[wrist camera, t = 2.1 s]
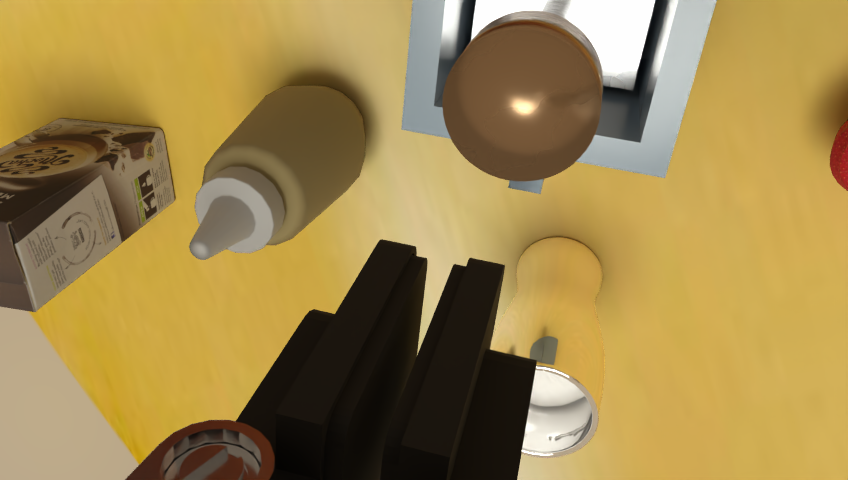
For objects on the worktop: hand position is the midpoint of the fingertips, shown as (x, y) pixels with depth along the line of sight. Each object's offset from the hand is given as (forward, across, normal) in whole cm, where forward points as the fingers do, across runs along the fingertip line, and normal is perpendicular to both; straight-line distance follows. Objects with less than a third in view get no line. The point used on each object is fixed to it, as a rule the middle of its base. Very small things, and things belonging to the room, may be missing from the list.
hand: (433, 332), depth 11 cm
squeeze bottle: (+37, +15, +13) cm, 42 cm away
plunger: (+29, 0, 0) cm, 29 cm away
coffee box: (+37, +32, +19) cm, 53 cm away
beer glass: (+37, -3, +21) cm, 43 cm away
